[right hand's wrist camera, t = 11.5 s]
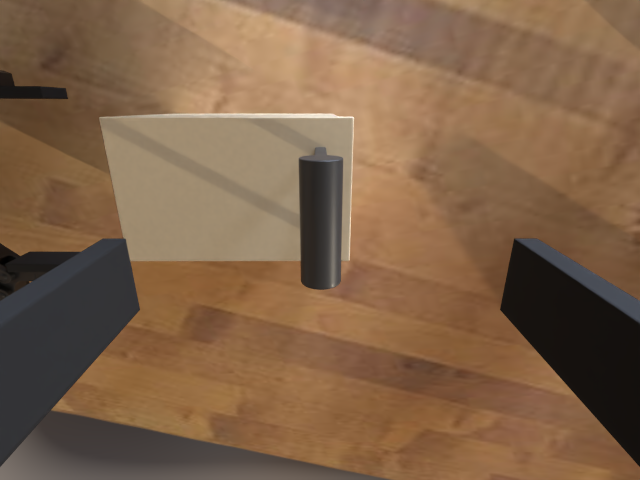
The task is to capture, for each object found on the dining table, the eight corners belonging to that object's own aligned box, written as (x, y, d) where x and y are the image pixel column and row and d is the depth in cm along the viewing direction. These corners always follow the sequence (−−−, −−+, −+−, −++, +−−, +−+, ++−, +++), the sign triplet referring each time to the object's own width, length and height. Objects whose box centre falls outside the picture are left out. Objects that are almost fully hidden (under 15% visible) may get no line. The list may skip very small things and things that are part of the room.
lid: (352, 116, 23) (369, 121, 15) (348, 255, 27) (360, 317, 19) (108, 116, 23) (-2, 121, 15) (135, 255, 27) (56, 318, 19)
